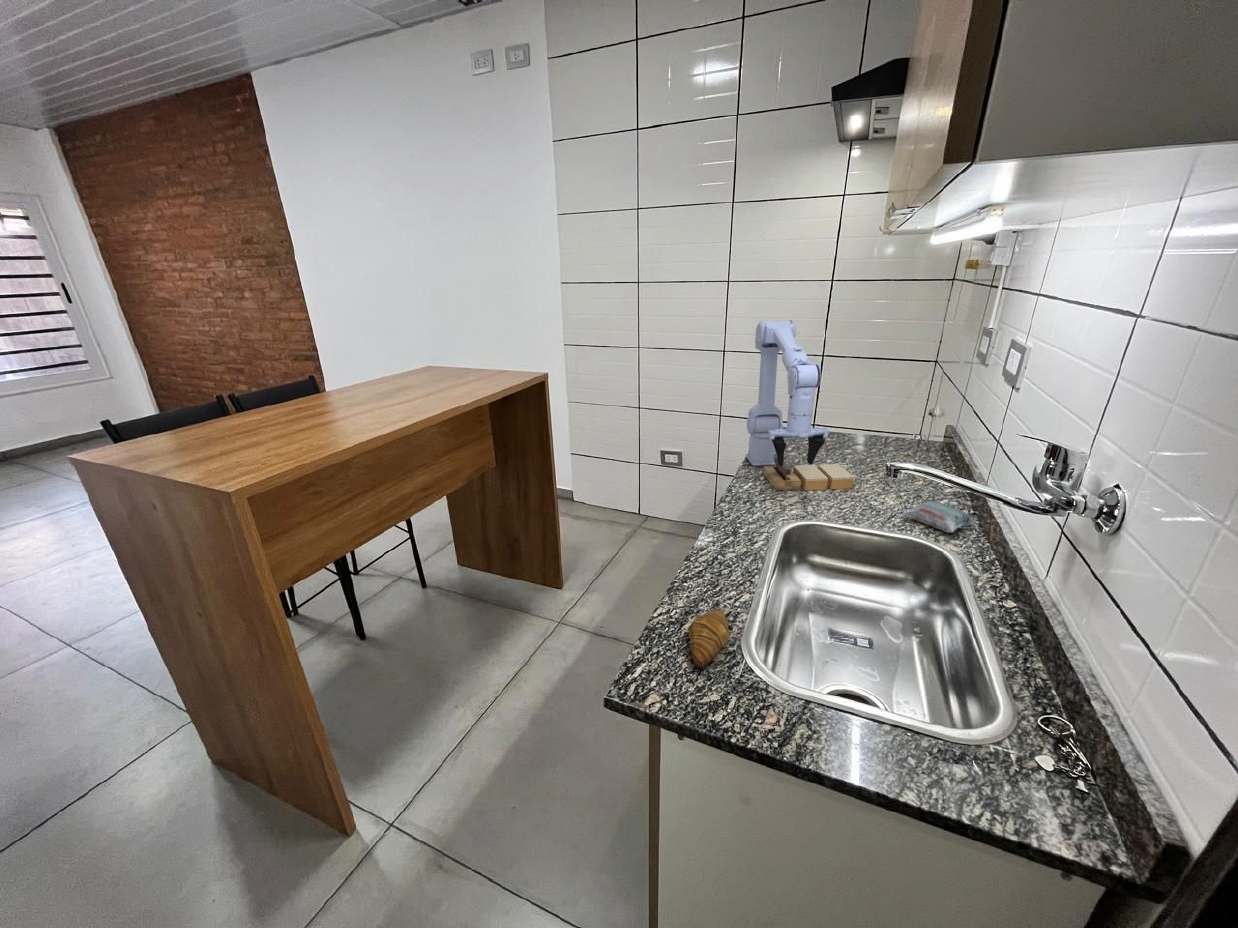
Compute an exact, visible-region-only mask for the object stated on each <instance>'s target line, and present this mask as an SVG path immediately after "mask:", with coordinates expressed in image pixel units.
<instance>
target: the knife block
mask: <svg viewBox="0 0 1238 928" xmlns="http://www.w3.org/2000/svg"><path fill="white" fill-rule="evenodd" d="M762 466H763V467H762V474H763V476H764V477H765V478H766V480H767V481H768V482H769V484H770V485H771V486H772V488H773V489H774V491H785V490H786V491H787V490H801V488H802V486H801V480H800V479H799V478H798V477H797V476H796V475H795V474H794V473H793V469H791V475H788V480H783V479H782V478H781V476H780V475H779V474H778V473H777V472H776V470H775V468H776V465H762Z"/></svg>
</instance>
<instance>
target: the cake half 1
mask: <svg viewBox="0 0 1238 928" xmlns="http://www.w3.org/2000/svg"><path fill="white" fill-rule="evenodd" d="M792 471H793V473H794V474H795V475H796V476H797V477H798V478H799V479H800V480H801V488H802V489H803V490H804V491H825V490H827V489H828V488H827V487H828V486H827V482H828V478H827V477H826V476H825V475H824V474H823V473H822V472H821V471H820V470H819V469H818V466H816V465H815V464H812V465H810V464H800V465H798V464H797V465H793V468H792Z"/></svg>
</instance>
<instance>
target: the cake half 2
mask: <svg viewBox="0 0 1238 928" xmlns="http://www.w3.org/2000/svg"><path fill="white" fill-rule="evenodd" d="M817 468H818V469H819V470H820V471H821V472H822V473H823V474H824V475H825V476H826V477H827V478H828V482H827V487H828V488H829V489H830V490H850V489H851V490H852V489H853V488H854V481H855V476H854V475H853V474H852V473H850V471H848V470H847V469H846V468H844V467H843V466H842V465H841V464H840V463H823V464H821V463H820V464H818V465H817Z"/></svg>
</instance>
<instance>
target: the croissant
mask: <svg viewBox="0 0 1238 928" xmlns="http://www.w3.org/2000/svg"><path fill="white" fill-rule="evenodd" d="M729 626H730V623H729V621H728V619H727V617H726V613H725V612H724V611H723V610H722V609H710V610H709V611H707V612H705V613H703V614H699V615H697V616H696V617H695V619H694V620H693V621H692V622H691V624H690V625H689V626H688V638H689V642H688V647H689V651H690V655H691V659H692V662H693V666H694V668H697V669H701V670H702V669H704V668H705V667H707V666H708V665H709V664H710V663H711V662H712V661H713V660H714V659H715V658H716V657H717V655H718V654H719V652H720V650H722V648H723V647H724V646H725V645H726V644H727V642H728V641H729V639H730V638H731V637H730V629H729Z"/></svg>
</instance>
